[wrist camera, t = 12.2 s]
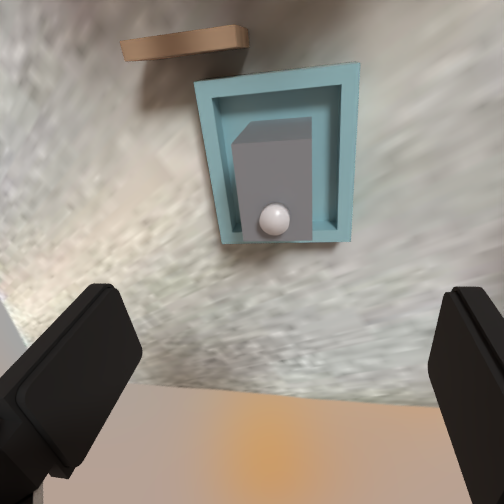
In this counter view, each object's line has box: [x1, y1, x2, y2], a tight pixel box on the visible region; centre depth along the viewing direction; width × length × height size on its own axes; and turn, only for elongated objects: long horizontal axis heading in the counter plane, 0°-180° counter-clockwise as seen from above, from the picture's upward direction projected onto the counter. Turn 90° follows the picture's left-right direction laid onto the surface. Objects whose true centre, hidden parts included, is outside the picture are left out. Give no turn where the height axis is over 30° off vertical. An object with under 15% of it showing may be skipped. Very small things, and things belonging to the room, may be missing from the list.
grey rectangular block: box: [231, 116, 313, 241], centre depth 25 cm, size 5×7×9 cm
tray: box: [194, 62, 360, 244], centre depth 28 cm, size 12×14×3 cm
